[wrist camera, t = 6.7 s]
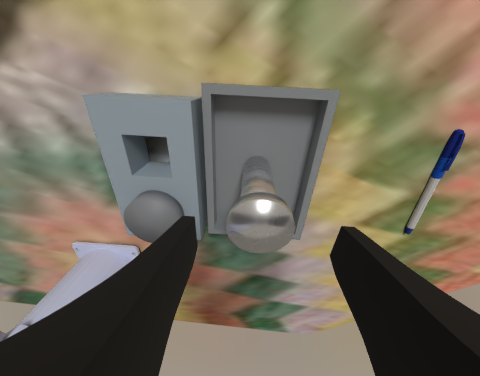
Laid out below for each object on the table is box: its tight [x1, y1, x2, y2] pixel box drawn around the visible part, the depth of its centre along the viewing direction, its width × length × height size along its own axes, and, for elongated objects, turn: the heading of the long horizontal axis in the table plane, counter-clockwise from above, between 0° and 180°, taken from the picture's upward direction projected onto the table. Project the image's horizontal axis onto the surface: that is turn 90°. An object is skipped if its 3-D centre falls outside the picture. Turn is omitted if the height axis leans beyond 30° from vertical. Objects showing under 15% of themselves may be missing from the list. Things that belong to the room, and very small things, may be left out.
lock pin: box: [226, 156, 295, 253], centre depth 13 cm, size 4×4×8 cm
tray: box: [201, 83, 340, 240], centre depth 16 cm, size 13×9×2 cm
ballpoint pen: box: [405, 129, 465, 234], centre depth 17 cm, size 10×1×1 cm, turn 3°
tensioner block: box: [83, 93, 207, 243], centre depth 16 cm, size 12×7×4 cm, turn 177°
